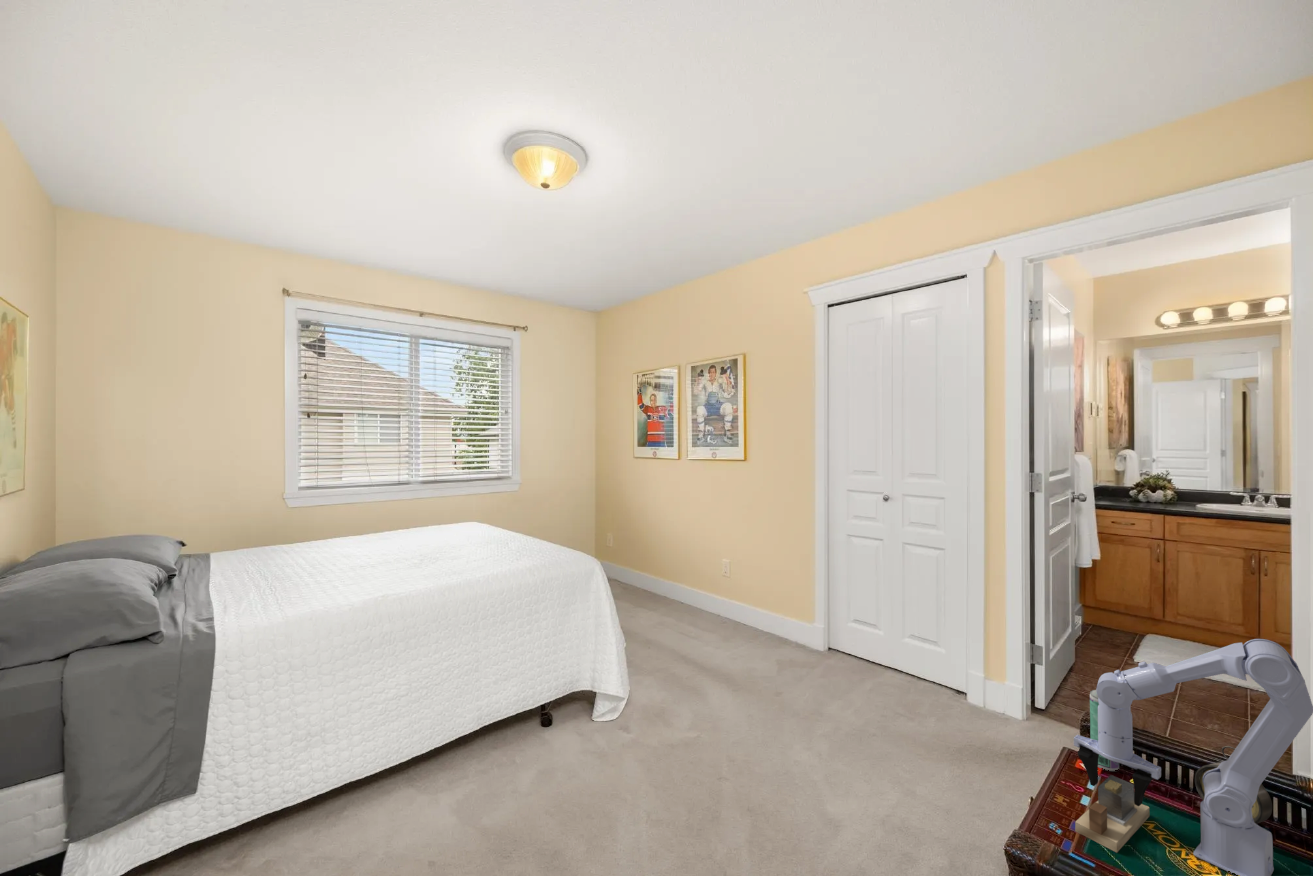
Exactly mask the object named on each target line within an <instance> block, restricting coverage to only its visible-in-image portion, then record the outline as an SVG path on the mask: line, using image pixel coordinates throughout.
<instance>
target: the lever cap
mask: <svg viewBox="0 0 1313 876" xmlns="http://www.w3.org/2000/svg"><path fill="white" fill-rule="evenodd" d="M1097 790H1098V791H1097V796H1098V797H1097V798H1098V799H1097V801H1098V804H1100V805H1103V806H1105V807H1107V814H1109V815H1111V816H1113V817H1115V818H1117V819H1120V820H1123V819H1124V818H1125V817H1126V816H1127V815H1128V814H1129V813H1130V811H1131V810H1132V809H1133V808H1134V793H1135V790H1134V783H1132V782H1129V781H1127V780H1124V779H1122V778H1119V777H1117V776H1114V775H1112V774H1110V775H1109V776H1108V777H1107V778H1106V779H1105V780H1104V781H1103V782H1101V783H1100V784H1099V785H1098V786H1097Z"/></svg>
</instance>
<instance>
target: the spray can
mask: <svg viewBox="0 0 1313 876" xmlns="http://www.w3.org/2000/svg"><path fill="white" fill-rule="evenodd" d="M1098 698H1099V697H1098V695H1097V690H1096V689H1093V690H1090V692H1089V723H1090V724H1089V725H1090V726H1089V727H1090V728H1089V729H1090V730H1089V732H1090V735H1089V736H1090V737H1089V738H1090V739H1094V740H1097V741H1098V705H1099V703H1098ZM1098 768H1099V769H1101V768H1103V769H1102V770H1104V769H1105V771H1108V770H1109V771H1108V772H1116V771H1115V770H1118V769H1119V770H1120V763H1118V762H1114V761H1111V760H1109V759H1107V758H1105V757H1103V756H1101V755H1100V754H1099V758H1098ZM1119 770H1118V771H1119Z"/></svg>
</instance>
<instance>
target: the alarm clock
mask: <svg viewBox="0 0 1313 876" xmlns="http://www.w3.org/2000/svg"><path fill="white" fill-rule="evenodd" d="M1227 748H1228V749H1232V750H1233V751H1234V750H1235V749H1236V747H1233V746H1230V745H1225V746H1223V747H1221V753H1222V755H1223V756H1224V758H1225V759H1226V760H1228V759H1229V757H1227V756H1226V755H1225V751H1224V750H1225V749H1227ZM1221 762H1222V761H1220V762H1214V763H1210V764H1205V765H1202V766H1201V767H1199V768H1197V770H1196V772H1195V774H1194V784H1195V785H1194V786H1195V787H1196V792H1198V795H1199V796H1200V799H1202V801H1203V800H1204V798H1205V791H1204V784H1203V775H1204V774H1205V773H1206V772H1207V771H1209V770H1212V769H1215V768H1217V767H1218V766H1219V765H1220V763H1221ZM1272 813H1273V803H1272V799H1271V796H1270V794H1269V793H1268V791H1267V789H1266V787H1264V785H1263V784H1262V783H1261V785H1260V787H1259V791H1258V795H1257V798H1256V802H1255V803H1254V804H1253V806H1252V818H1253V820H1254V823H1256V824H1257V825H1258V824H1260V823H1262V822H1265V821H1267V820H1268V819H1270V817H1271V815H1272Z"/></svg>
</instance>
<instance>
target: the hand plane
mask: <svg viewBox="0 0 1313 876" xmlns="http://www.w3.org/2000/svg"><path fill="white" fill-rule="evenodd" d="M1149 818H1150V807H1149V806H1148V805H1146V804H1143V803H1142V804H1141V805H1140V806H1137V805H1135V803H1134V808H1133V809H1132V810H1131V811H1130V813H1129V814H1128V815H1127V816H1126V817H1125V818H1124V819H1123V820H1120V819H1117V818H1115V817H1113V816H1111V815H1109V814H1107V807H1105V806H1103V805H1100V804H1098V800H1097V801H1095V802H1094V803H1092V804H1091V805H1090V806H1089V807H1088V809H1087V810H1086V811H1085V812H1084V813H1083V814H1082V815H1081V816H1079V818H1078V819H1077V820H1075V823H1074V826H1075V827H1074V830H1075V832H1076V833H1078V834H1080V835H1082V836H1083V837H1086V838H1087V839H1089V840H1092V841H1094V842H1096V843H1097V844H1099V845H1102V846H1103V847H1104V848H1107V849H1109V850H1110V851H1113V852H1115V853H1119V851H1120V850H1121V849H1122V848H1123V847H1124V845H1125V844H1126V843H1127V842H1129V840H1130V839H1131V838H1132V837H1133V835H1134V834H1136V833H1137V831H1138V830H1139V829H1140V828H1141V826H1142V825H1143V824H1144V823H1145V822H1146V821H1147V820H1148V819H1149Z"/></svg>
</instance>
